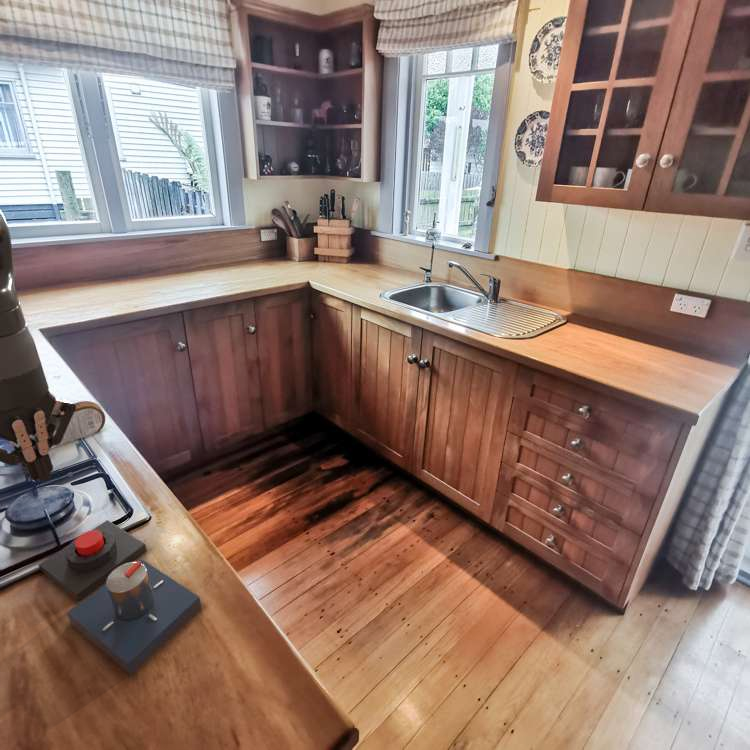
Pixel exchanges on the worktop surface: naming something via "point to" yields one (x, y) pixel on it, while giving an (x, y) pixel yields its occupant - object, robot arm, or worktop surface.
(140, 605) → the knob
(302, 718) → the worktop surface
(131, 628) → the panel
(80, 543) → the button
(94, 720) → the worktop surface
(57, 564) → the housing
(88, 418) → the tin
